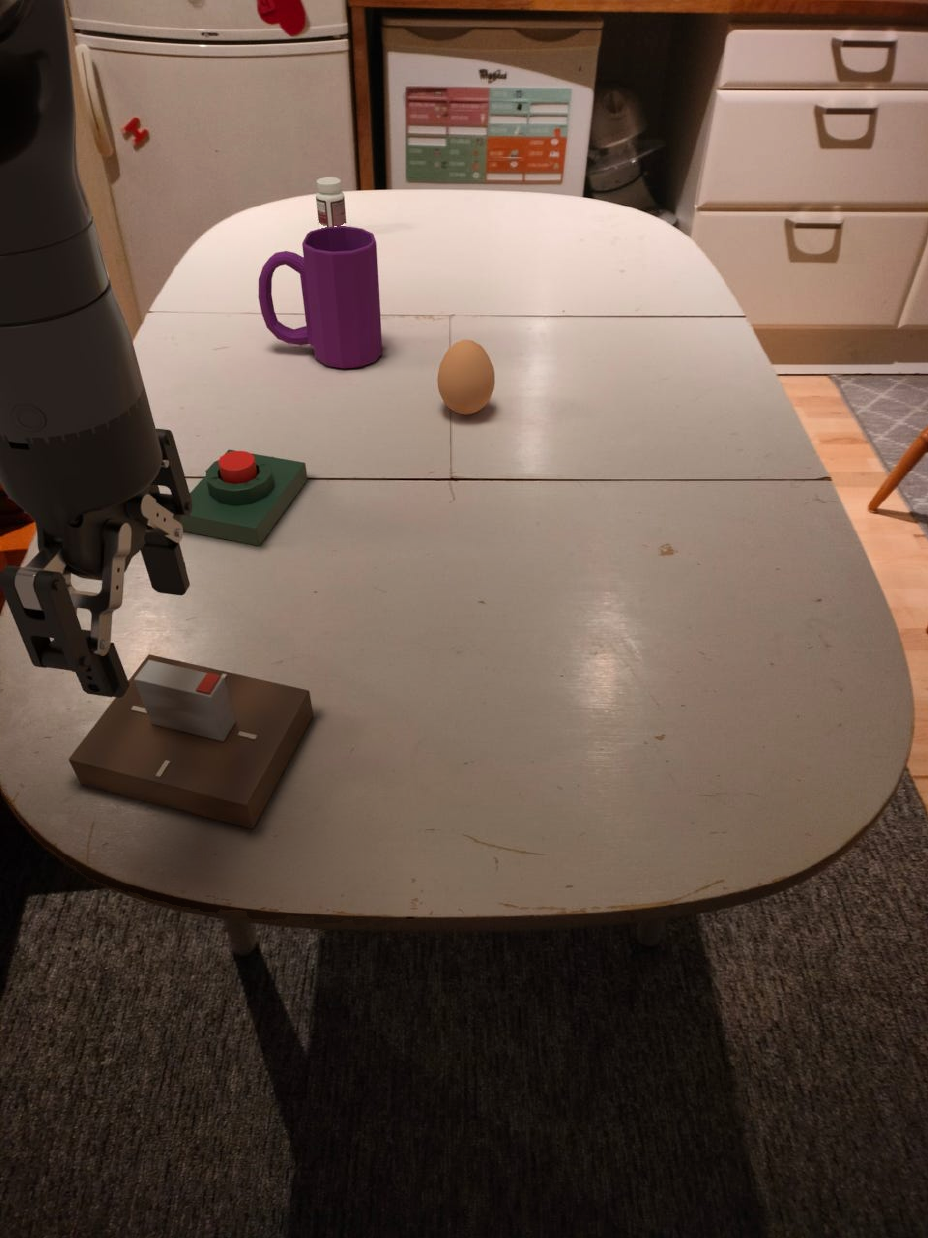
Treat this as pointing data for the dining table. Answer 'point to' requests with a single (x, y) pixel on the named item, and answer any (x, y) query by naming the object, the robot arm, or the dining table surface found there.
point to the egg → (466, 377)
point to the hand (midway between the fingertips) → (143, 638)
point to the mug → (332, 296)
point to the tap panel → (198, 750)
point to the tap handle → (186, 700)
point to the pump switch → (244, 501)
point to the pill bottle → (330, 202)
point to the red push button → (237, 467)
